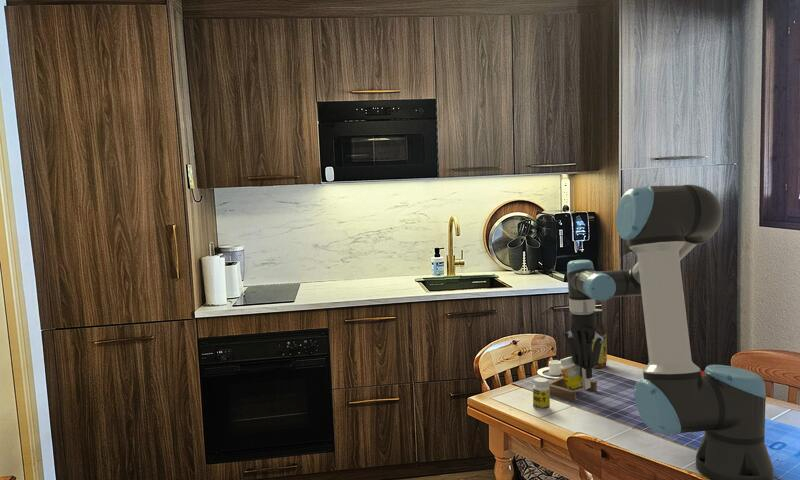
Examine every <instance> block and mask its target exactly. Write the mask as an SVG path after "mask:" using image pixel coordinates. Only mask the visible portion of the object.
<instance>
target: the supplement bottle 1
mask: <svg viewBox="0 0 800 480" xmlns="http://www.w3.org/2000/svg"><path fill="white" fill-rule="evenodd" d="M548 382H549V378H547V377H536V378H534V379H533V384H534V385H533V386H532V407H533V408H534V409H535V410H536V411H548V410H549V409H550V407H551V403H550V402H551V400H550V398H551V397H550V388H549V386H548Z"/></svg>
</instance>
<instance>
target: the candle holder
mask: <svg viewBox="0 0 800 480" xmlns="http://www.w3.org/2000/svg"><path fill="white" fill-rule="evenodd" d="M561 366H563V365H561V362H560V360H558V359H553V360H550V361H548V366H545V367H542V368H539V369H538V370H537V371H536V373H537V375H539V376H541V377H542V378H546V379H557V378H559V376H561V375H562V372H561V369H560V367H561ZM546 371H548V373H549V375H552V376H548V375H546V374H543V372H546ZM560 374H561V375H560ZM555 376H557V377H555Z"/></svg>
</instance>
